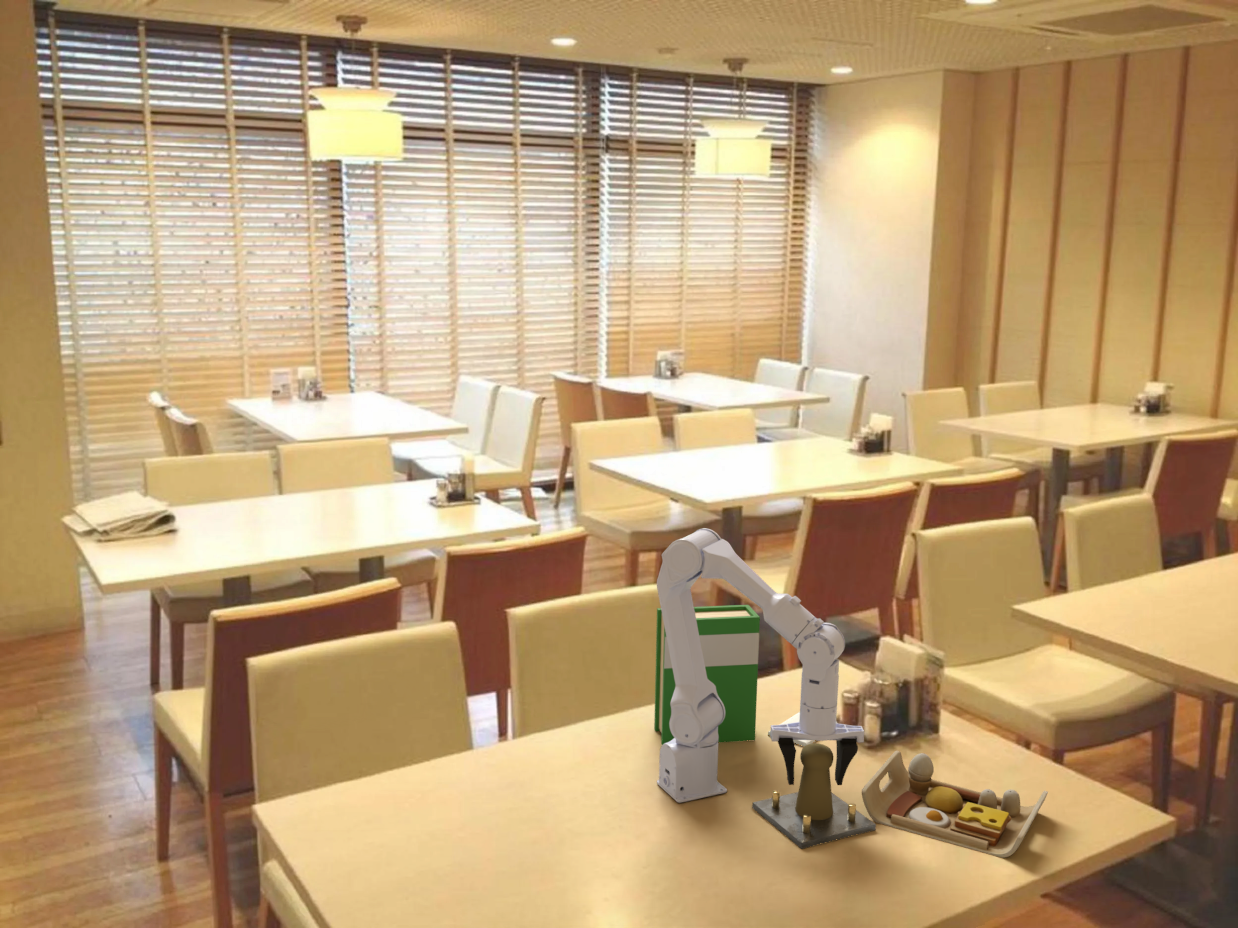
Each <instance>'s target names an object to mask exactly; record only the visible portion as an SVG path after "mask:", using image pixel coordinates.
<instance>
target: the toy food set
mask: <svg viewBox="0 0 1238 928" xmlns="http://www.w3.org/2000/svg"><path fill="white" fill-rule="evenodd" d="M907 768H908V769H906V767H905V764H904V761H903V756H902V752H901V751H899V750H895V751H893V753H892V754H891V755H890V757H889V758H887V760H886V761H885V763H883V764H882V766H880V768H879V769H878V770H877V771H876V772H875V773H874V774H873V776H872V777H871V778H870V779H869V780H868V782H867V783H866V784H865V785H864V786H863V787H862V789H861V797H862V802H863V804H864V807H865V809H866V812H867V813H868V816H869V818H871V820H873V821H874V823H875V822H876V824H881V825H884V826H888V827H891V828H893V829H898V830H902V831H905V832H909V833H913V834H916V833H917V834H916V835H919V834H920V835H921V836H924V837H926V838H931V839H934V840H938V841H941V842H944V843H948V844H952V845H955V846H959V847H963V848H966V849H970V850H974V851H976V852H980V853H984V854H986V855H987V854H988V855H991V856H995V857H998V858H1008V857H1011V856H1012V855H1013V854H1014V853H1016V851H1017V850H1018V849H1019V847H1020V845H1021V844H1022V842H1023V840H1024V838H1025V836H1026V835H1027V833H1028V831H1029V829H1030V828H1031V825H1032V823H1033V821H1034V820H1035V818H1036V816H1037V814H1038V813H1039V811H1040V810H1041V807H1042V806H1043V804H1044V802H1045V801H1046V798H1047V795H1048V792H1049V791H1046V790H1043V791H1042V793H1041V794H1040V797H1039V798H1038V800H1037V801H1036V803H1034V805H1030V806H1023V805H1021V798H1020V794H1019V793H1018V792H1017V790H1015V789H1007V790H1005V791H1004V792H1003V794H1002V797H999V796H997V794H996V793H995V792H994V790H992V789H988V788H985V789H983V790H982V791H978V790H973V789H970V788H967V787H961V786H957V785H954V784H950V783H949V782H948V783H947V782H943V781H940V780H936V779H934V778H932V777H933V774H934V772H935V771H934V764H933V761H932V758H930V756H929V755H928V754H926V753H923V752H922V753H917V754H915V755H914V757H913V758H912V759H911V760H910V762H909V766H908V767H907ZM887 774H888V781H887V782H886V783H885V784H884V786H883V787H882V788H881V787H880V785H881V784H880V783H881V781H882V780H883V779H884V777H885V776H886V775H887ZM880 788H881V789H880Z"/></svg>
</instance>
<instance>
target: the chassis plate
mask: <svg viewBox="0 0 1238 928" xmlns="http://www.w3.org/2000/svg"><path fill="white" fill-rule="evenodd" d="M798 792H799V791H796V792H792V793H788V794H783V795H781V791H779V790H772V792H771V793H772V796H771V798H766V799H762V800H757V801H754V802H752V809H753V810H754V811H755V812H756V811H757V812H756V813H757V814H758V815H760V816H761V817H762V818H763V819H765V820H766V821H767V822H769V823H770V824H771V825H772V826H773V827H774V828H776V829H777V830H778V831H780V833H782V834H783V835H786V836H785V837H786V838H788V839H789V840H790V841H791V840H792V841H791V842H793V843H794V845H796V846H798V848H800V849H801V850H802V849H806V847H807V848H811V847H814V846H813V845H815V846H818V845H817V844H819V845H821V844H820V843H823V844H825V842H827V843H829V841H831V842H833V841H832V840H835V841H837V840H836V839H838V840H841V839H840V838H842V839H845V838H844V837H846V838H849V837H848V836H850V837H852V836H851V835H854V836H857V835H856V834H858V835H862V834H865V832H866V833H870V832H873V831H876V827H877V823H875V822H873V821H872V819H869V818H868V817H867V816H865V815H864V814H862V813H861V812H859V811H858V810H857V805H856V804H855V803H847V802H846V801H844V800H843V799H841V797H839V796H838V795H836V794H835V793H833V792H832V791H831V793H832V805H833V815H832V816H831V817H829V818H827V819H823V820H813V819H811V816H810V815H808V814H805V815H803V817H802V816H800V815H799V814H798V813H797V812H796V810H795V807H796V802H797V797H798ZM869 831H870V832H869ZM861 833H862V834H861ZM810 846H811V847H810Z"/></svg>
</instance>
